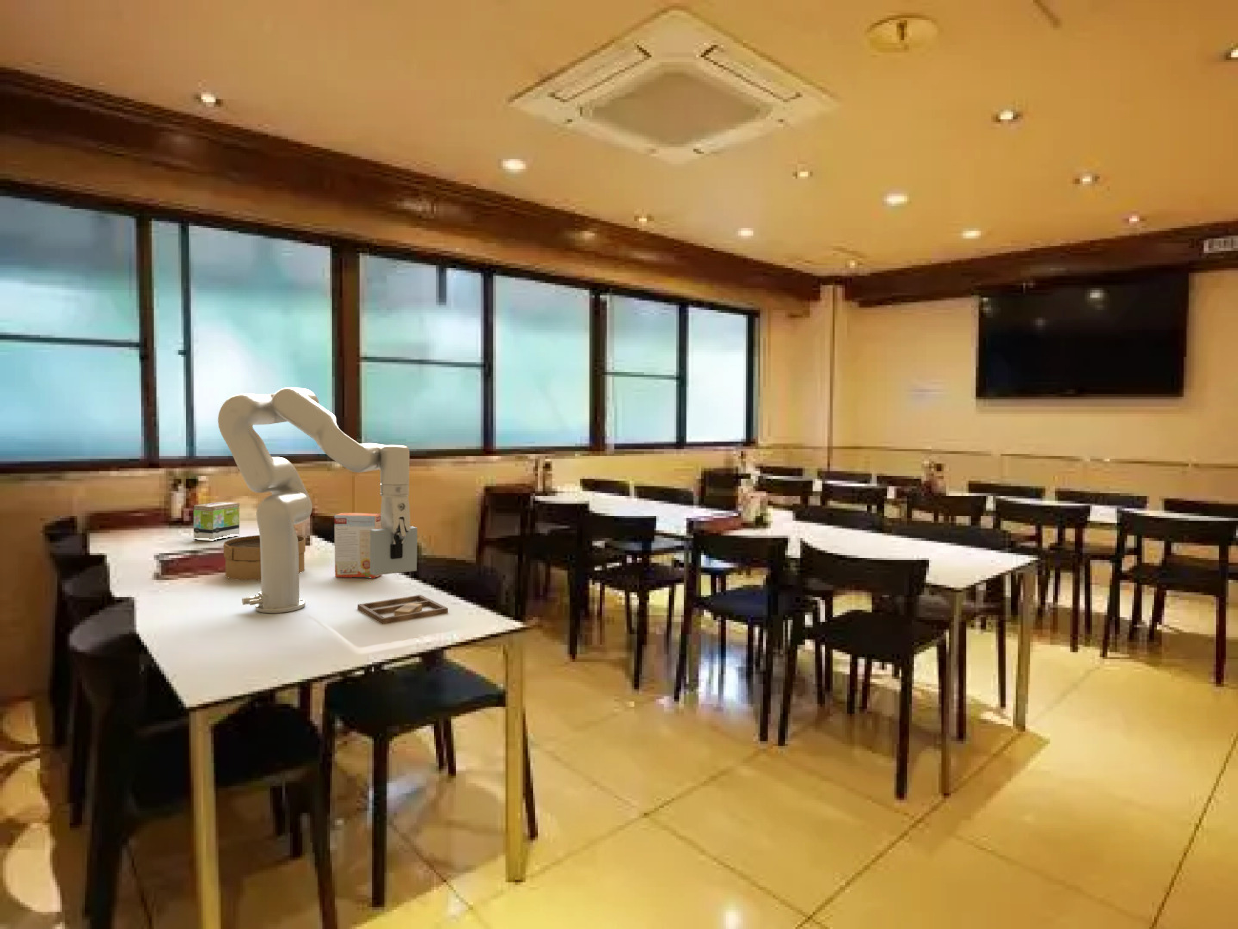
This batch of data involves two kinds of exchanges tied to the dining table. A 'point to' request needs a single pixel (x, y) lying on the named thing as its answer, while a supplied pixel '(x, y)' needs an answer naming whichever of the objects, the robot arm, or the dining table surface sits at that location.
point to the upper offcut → (408, 609)
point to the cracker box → (354, 543)
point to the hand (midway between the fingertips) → (393, 556)
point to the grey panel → (382, 550)
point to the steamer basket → (250, 557)
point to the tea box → (216, 520)
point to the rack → (375, 612)
